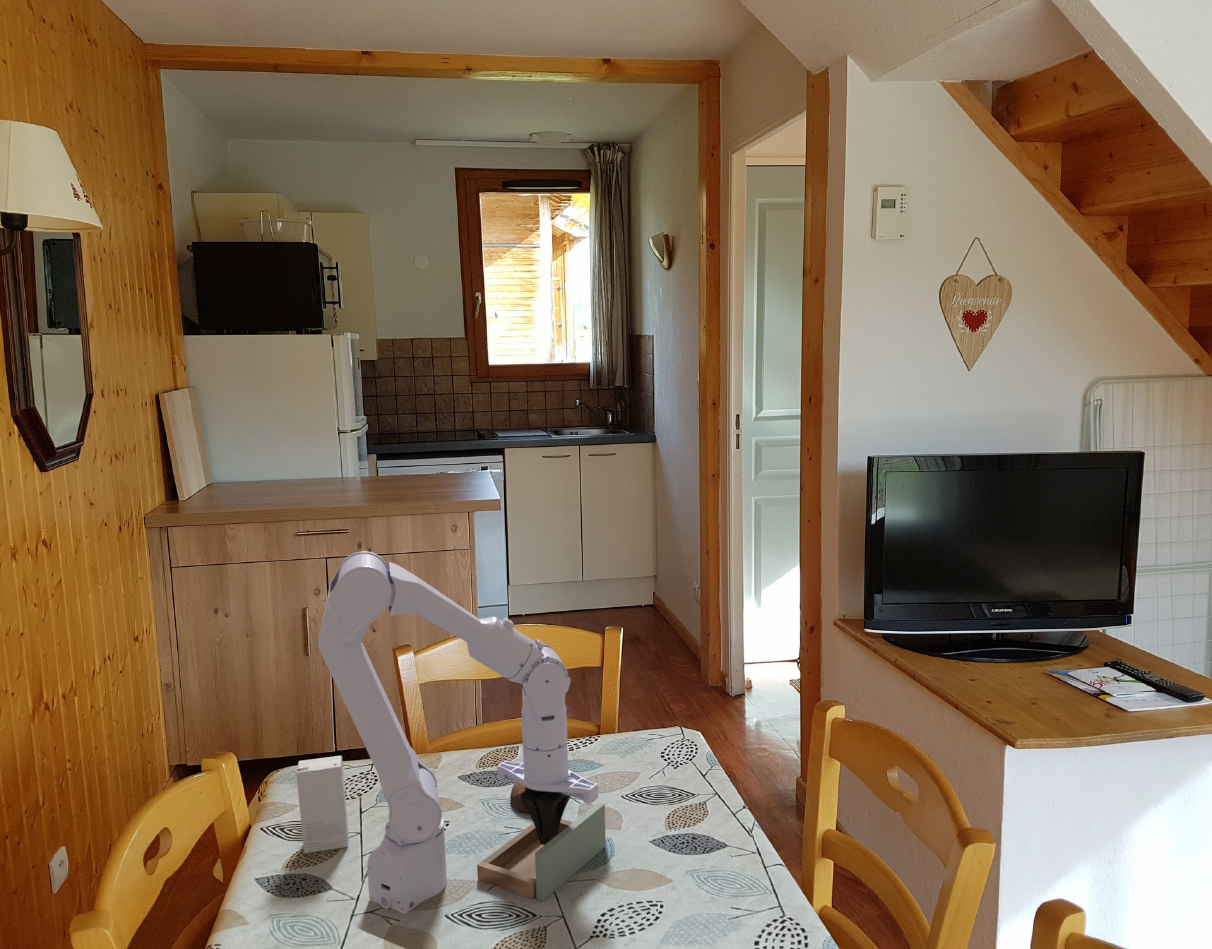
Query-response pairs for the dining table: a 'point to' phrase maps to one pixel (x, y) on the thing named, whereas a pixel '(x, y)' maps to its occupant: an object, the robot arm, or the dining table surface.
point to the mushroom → (518, 798)
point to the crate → (515, 863)
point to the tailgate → (569, 851)
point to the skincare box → (322, 804)
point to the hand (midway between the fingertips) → (548, 841)
